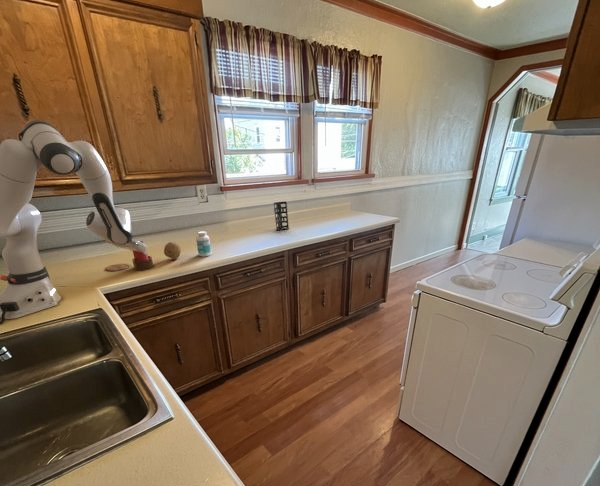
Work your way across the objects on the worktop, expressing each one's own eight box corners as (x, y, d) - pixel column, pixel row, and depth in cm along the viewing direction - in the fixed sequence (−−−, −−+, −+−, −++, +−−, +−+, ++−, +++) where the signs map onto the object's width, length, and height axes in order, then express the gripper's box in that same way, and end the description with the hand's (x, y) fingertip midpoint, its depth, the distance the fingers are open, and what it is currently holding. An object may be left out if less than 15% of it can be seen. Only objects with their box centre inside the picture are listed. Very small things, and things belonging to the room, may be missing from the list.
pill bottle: (196, 255, 194) (192, 232, 187) (207, 252, 198) (204, 230, 192) (202, 257, 189) (199, 234, 183) (214, 254, 194) (210, 232, 187)
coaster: (116, 272, 168) (115, 271, 168) (101, 269, 172) (101, 268, 172) (133, 266, 177) (133, 265, 177) (119, 263, 181) (118, 262, 181)
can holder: (143, 271, 169) (141, 262, 167) (130, 269, 173) (128, 259, 170) (157, 265, 177) (155, 256, 174) (144, 263, 180) (142, 255, 178)
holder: (279, 230, 247) (277, 202, 239) (273, 229, 252) (270, 202, 244) (290, 228, 253) (288, 201, 245) (284, 227, 259) (282, 201, 251)
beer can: (144, 267, 171) (139, 244, 165) (133, 266, 172) (127, 243, 166) (152, 263, 176) (147, 241, 171) (141, 262, 177) (136, 240, 172)
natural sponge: (170, 263, 181) (166, 245, 176) (162, 259, 186) (159, 242, 182) (185, 259, 187) (182, 242, 182) (177, 256, 192) (174, 239, 187)
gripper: (135, 234, 155) (156, 249, 167) (109, 229, 164) (131, 244, 176) (129, 246, 154) (151, 260, 166) (103, 240, 163) (126, 254, 175)
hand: (141, 252), depth 171 cm, fingers closed on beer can, 6 cm apart
